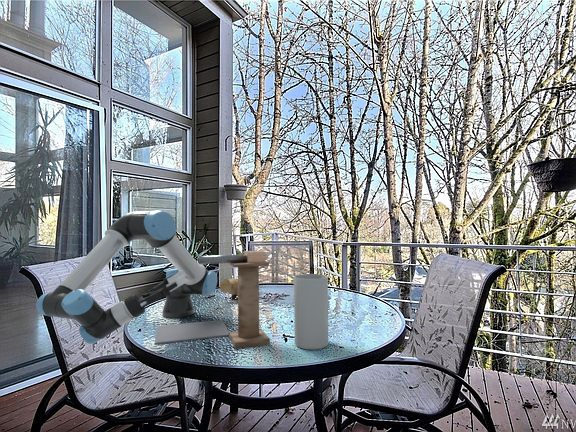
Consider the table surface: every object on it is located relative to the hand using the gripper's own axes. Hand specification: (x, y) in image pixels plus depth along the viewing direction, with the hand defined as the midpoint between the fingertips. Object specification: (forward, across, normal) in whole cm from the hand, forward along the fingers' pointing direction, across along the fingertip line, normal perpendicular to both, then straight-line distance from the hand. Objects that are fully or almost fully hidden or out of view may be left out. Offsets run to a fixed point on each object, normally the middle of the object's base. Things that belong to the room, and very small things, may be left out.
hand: (185, 275), depth 122 cm
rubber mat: (-10, -19, -24) cm, 33 cm away
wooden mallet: (+17, 0, -5) cm, 18 cm away
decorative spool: (+16, -78, -40) cm, 89 cm away
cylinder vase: (+25, +12, -45) cm, 53 cm away
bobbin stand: (+7, 0, -34) cm, 35 cm away
